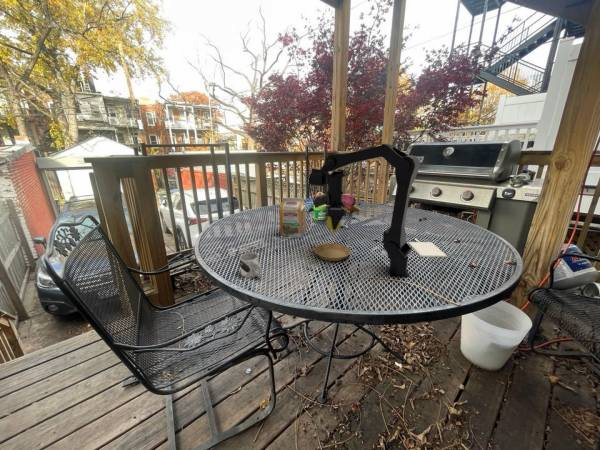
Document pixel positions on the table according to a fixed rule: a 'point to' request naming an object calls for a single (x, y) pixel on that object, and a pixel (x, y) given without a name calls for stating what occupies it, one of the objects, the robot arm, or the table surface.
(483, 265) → the table surface
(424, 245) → the placemat
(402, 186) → the robot arm
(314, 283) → the table surface
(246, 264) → the mug
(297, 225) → the plastic snack jar
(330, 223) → the lemon
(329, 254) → the plant saucer
